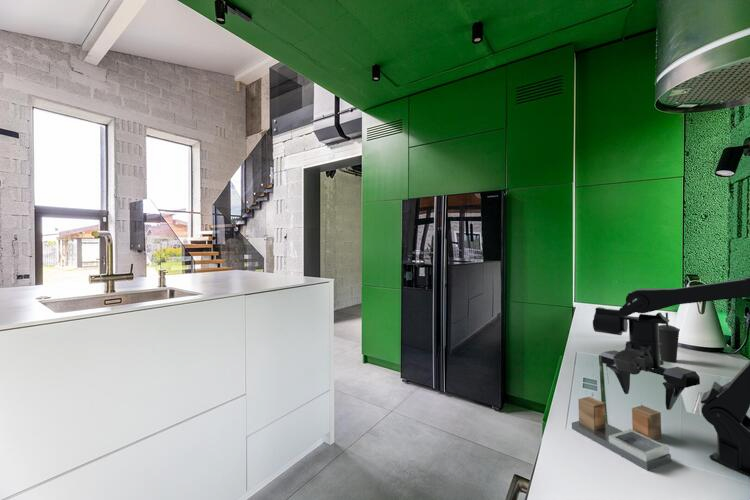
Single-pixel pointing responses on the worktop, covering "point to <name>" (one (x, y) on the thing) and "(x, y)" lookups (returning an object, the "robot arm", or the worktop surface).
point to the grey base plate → (628, 445)
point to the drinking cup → (668, 342)
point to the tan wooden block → (646, 422)
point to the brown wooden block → (592, 413)
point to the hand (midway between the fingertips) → (646, 401)
